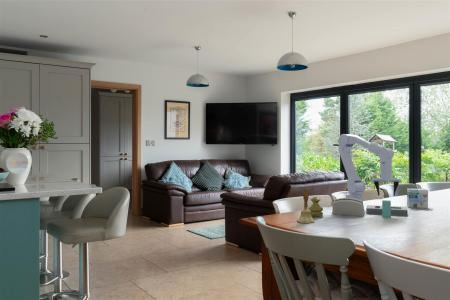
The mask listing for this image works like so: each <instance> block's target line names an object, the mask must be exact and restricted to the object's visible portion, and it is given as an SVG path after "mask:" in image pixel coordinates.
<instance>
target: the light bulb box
mask: <svg viewBox="0 0 450 300" xmlns="http://www.w3.org/2000/svg"><path fill="white" fill-rule="evenodd" d="M406 191H407V192H406V207H408V208H412V209H414V208H416V209H417V208H418V209H429V189H427V188H408V187H407V188H406Z"/></svg>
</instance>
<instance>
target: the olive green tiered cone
mask: <svg viewBox="0 0 450 300" xmlns="http://www.w3.org/2000/svg"><path fill="white" fill-rule="evenodd" d="M310 201H311V202H312V204H311V205H310V206H308V210H310V212H311V217H312V218H323V217H324V212H323V211H324V208H323V207H322V206H321V205H320V204H319V202H321V198H319V197H317V196H313V197H312V198H310Z"/></svg>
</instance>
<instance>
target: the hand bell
mask: <svg viewBox="0 0 450 300" xmlns="http://www.w3.org/2000/svg"><path fill="white" fill-rule="evenodd" d="M309 196H310V195H309V190H308V188H304V190H303V195H302V197H303V209H301V211H300V215H299V218H298V219H297V221H296V222H297V223H301V224H313V223H315V220H314V219H313V217H311V212H310V210H308V208H309V205H308V201H309V198H310V197H309Z"/></svg>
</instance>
